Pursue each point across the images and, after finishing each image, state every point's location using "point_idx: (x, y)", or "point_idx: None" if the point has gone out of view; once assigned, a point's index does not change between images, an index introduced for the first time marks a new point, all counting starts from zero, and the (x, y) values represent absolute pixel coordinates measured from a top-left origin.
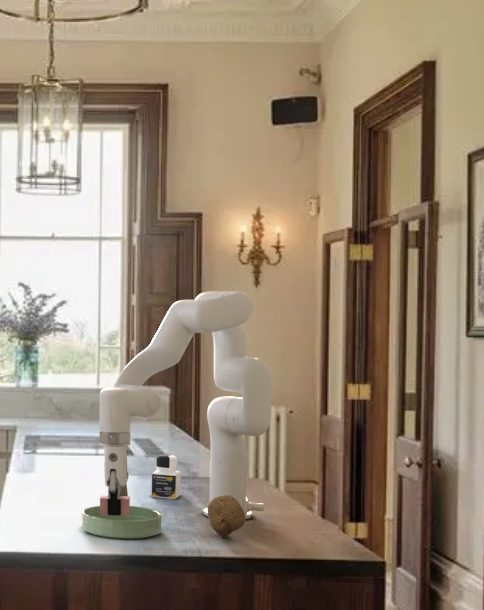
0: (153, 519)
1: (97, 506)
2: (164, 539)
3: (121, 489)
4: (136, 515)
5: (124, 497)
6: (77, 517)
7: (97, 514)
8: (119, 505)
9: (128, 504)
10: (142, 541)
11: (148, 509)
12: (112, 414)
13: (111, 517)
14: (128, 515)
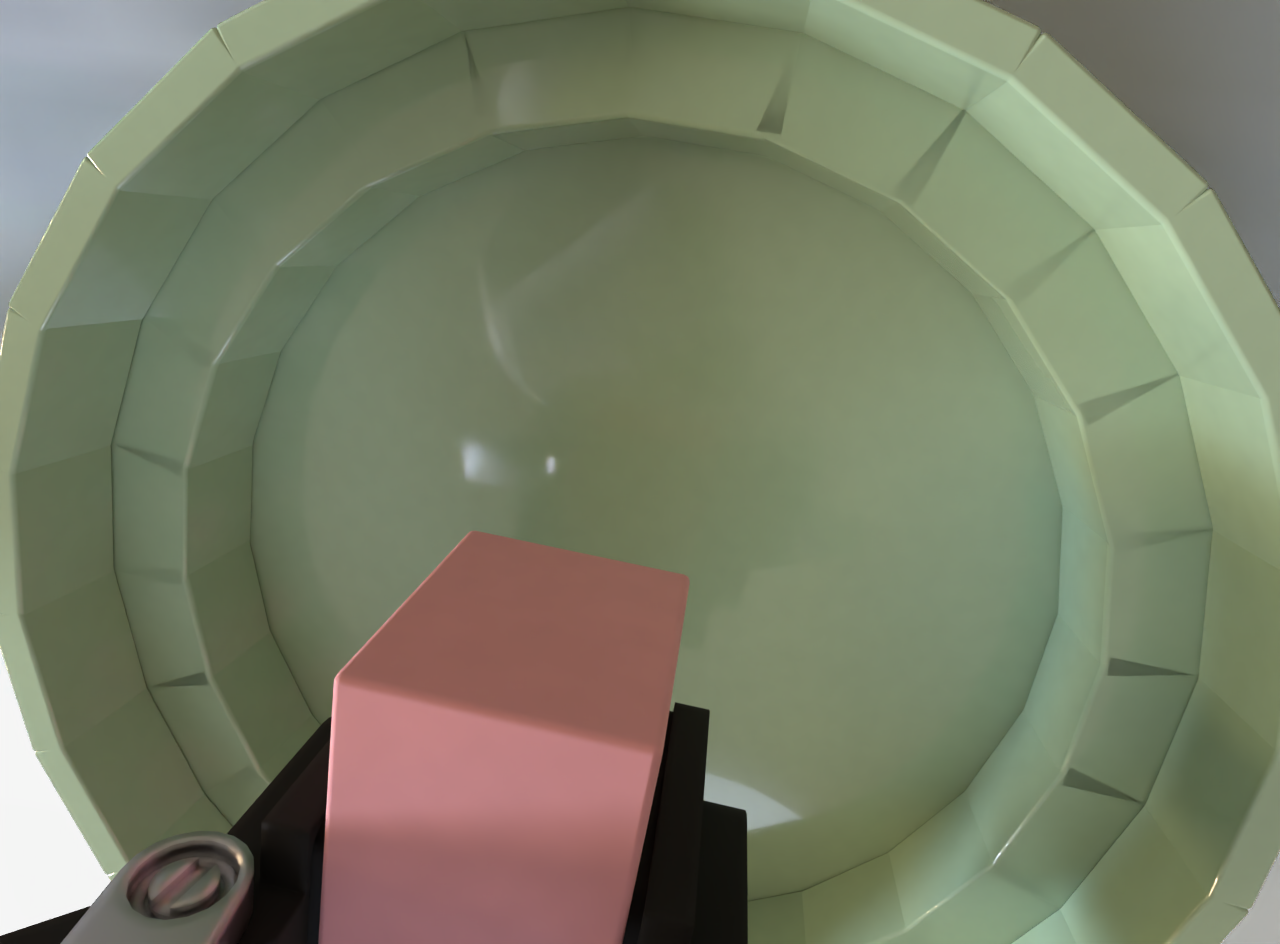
0: (1170, 151)
1: None
2: (1129, 8)
3: (83, 934)
4: (191, 348)
5: (476, 812)
6: (37, 892)
7: None
8: (693, 835)
9: (673, 677)
10: None
11: (165, 148)
12: None
13: (238, 664)
14: (194, 462)
